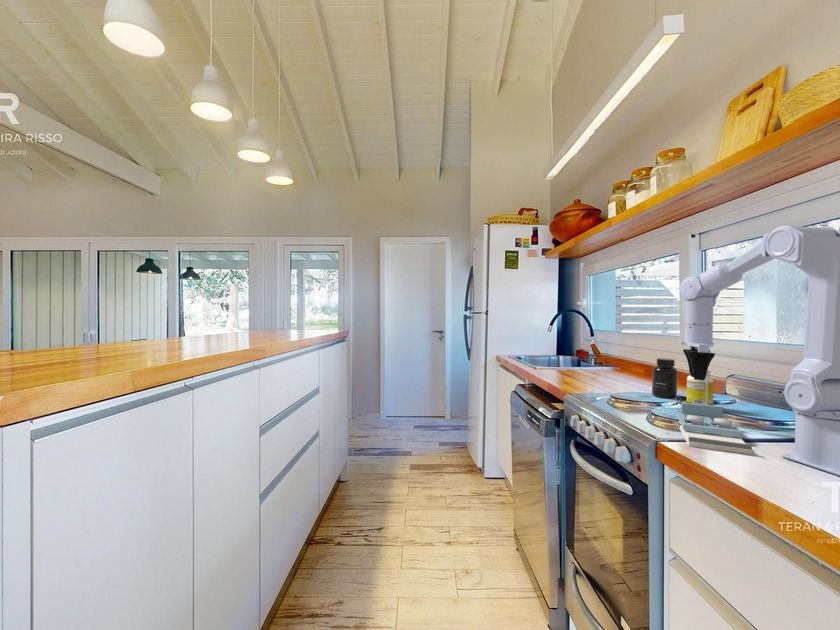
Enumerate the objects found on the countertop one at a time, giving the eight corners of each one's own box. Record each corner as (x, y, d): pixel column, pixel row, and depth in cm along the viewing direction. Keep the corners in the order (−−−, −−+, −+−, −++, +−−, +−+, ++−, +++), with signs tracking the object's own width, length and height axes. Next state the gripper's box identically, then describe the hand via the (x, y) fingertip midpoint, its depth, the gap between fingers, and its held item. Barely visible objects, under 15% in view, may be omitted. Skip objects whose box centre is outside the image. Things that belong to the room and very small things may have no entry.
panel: (741, 437, 81) (741, 419, 81) (683, 430, 85) (684, 413, 85) (726, 422, 92) (727, 406, 92) (676, 416, 96) (676, 401, 96)
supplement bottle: (655, 398, 122) (656, 359, 122) (649, 393, 129) (650, 357, 129) (680, 399, 120) (681, 361, 120) (673, 395, 127) (674, 358, 127)
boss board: (751, 454, 75) (752, 435, 75) (688, 445, 79) (689, 427, 79) (725, 426, 93) (725, 410, 92) (675, 420, 97) (675, 405, 97)
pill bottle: (704, 404, 114) (705, 367, 114) (718, 410, 108) (719, 370, 108) (681, 404, 115) (682, 366, 114) (694, 409, 108) (695, 370, 108)
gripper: (676, 323, 107) (674, 372, 107) (684, 325, 94) (682, 381, 94) (707, 324, 103) (706, 375, 104) (720, 326, 91) (719, 384, 91)
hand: (697, 378), depth 99 cm, fingers open, 4 cm apart
